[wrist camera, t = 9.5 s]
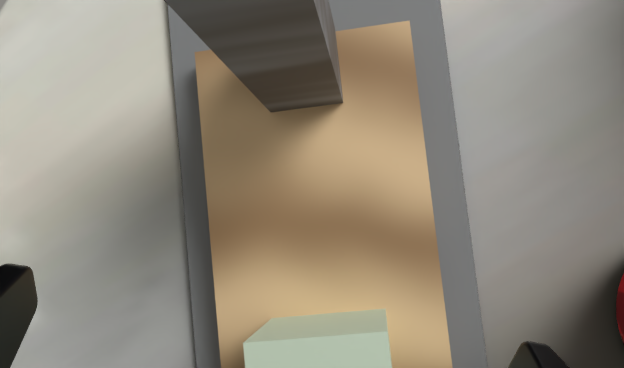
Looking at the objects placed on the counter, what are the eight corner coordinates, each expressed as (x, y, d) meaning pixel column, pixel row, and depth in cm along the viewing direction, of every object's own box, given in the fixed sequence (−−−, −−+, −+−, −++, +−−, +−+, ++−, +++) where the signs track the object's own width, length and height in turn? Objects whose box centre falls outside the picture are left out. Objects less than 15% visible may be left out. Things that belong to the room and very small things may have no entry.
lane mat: (502, 492, 21) (504, 496, 21) (210, 505, 22) (207, 509, 22) (417, -165, 23) (417, -170, 23) (160, -117, 25) (157, -121, 25)
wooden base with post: (459, 448, 21) (569, 750, 9) (236, 460, 22) (63, 744, 10) (408, 29, 22) (441, -197, 10) (202, 59, 23) (17, -115, 11)
